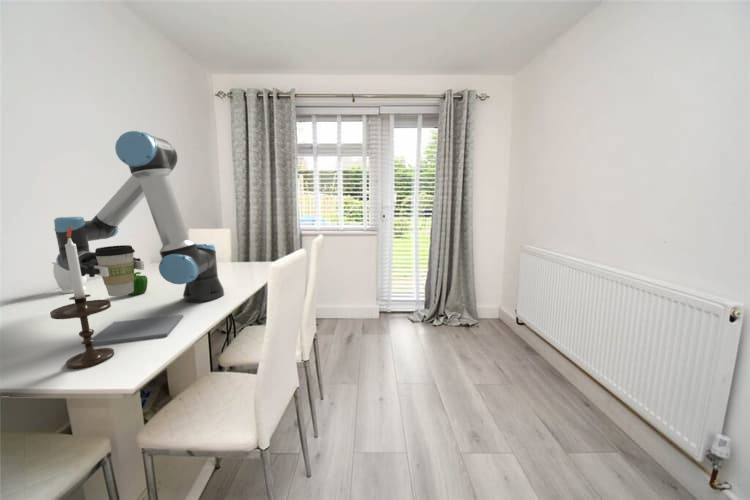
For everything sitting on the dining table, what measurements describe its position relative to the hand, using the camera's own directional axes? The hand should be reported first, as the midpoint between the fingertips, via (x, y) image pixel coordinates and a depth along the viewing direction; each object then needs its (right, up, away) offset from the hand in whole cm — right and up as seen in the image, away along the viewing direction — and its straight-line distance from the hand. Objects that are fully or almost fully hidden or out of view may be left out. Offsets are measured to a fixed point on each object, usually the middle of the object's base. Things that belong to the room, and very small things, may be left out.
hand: (125, 268), depth 92 cm
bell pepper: (-29, -14, +40) cm, 51 cm away
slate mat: (+3, -20, +2) cm, 20 cm away
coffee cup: (-4, -8, +3) cm, 10 cm away
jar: (-62, -13, +45) cm, 78 cm away
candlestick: (+4, -23, -15) cm, 28 cm away
